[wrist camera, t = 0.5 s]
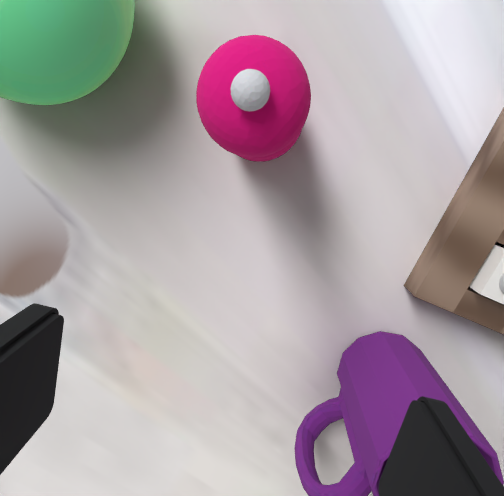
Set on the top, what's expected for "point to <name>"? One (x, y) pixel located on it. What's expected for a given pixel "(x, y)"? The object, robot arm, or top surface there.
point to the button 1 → (491, 276)
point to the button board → (467, 240)
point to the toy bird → (60, 47)
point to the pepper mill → (254, 97)
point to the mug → (376, 412)
